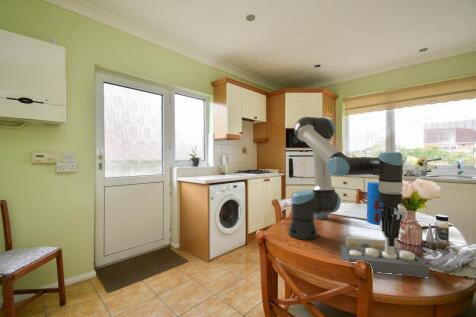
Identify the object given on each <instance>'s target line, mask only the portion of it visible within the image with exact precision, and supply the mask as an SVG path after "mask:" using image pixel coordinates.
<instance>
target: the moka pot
mask: <svg viewBox="0 0 476 317" xmlns="http://www.w3.org/2000/svg"><path fill="white" fill-rule="evenodd" d="M328 217H329V216H328V214H315V215H314V219H317V220H327V219H328Z"/></svg>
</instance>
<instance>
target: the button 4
mask: <svg viewBox="0 0 476 317" xmlns="http://www.w3.org/2000/svg"><path fill="white" fill-rule="evenodd" d="M400 250H401V249H400ZM409 251H410V250H403V249H402V250H401V251H399V257H400V258H402V259H403V260H413V261H414V260H415V253H413V252H412V251H410V252H409Z"/></svg>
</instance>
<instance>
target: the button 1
mask: <svg viewBox="0 0 476 317" xmlns="http://www.w3.org/2000/svg"><path fill="white" fill-rule="evenodd" d="M349 254H350V255H357V256H362V253H361V252H360V251H357V250H349Z"/></svg>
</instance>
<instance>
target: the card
mask: <svg viewBox="0 0 476 317" xmlns="http://www.w3.org/2000/svg"><path fill="white" fill-rule="evenodd" d="M345 239H346V240H345V246H354V247H366V248H379V249H385V239H378V238H377V239H375V238H362V237H361V238H360V237H349V236H347V237H346V238H345ZM395 250H399V241H397V240H395Z"/></svg>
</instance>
